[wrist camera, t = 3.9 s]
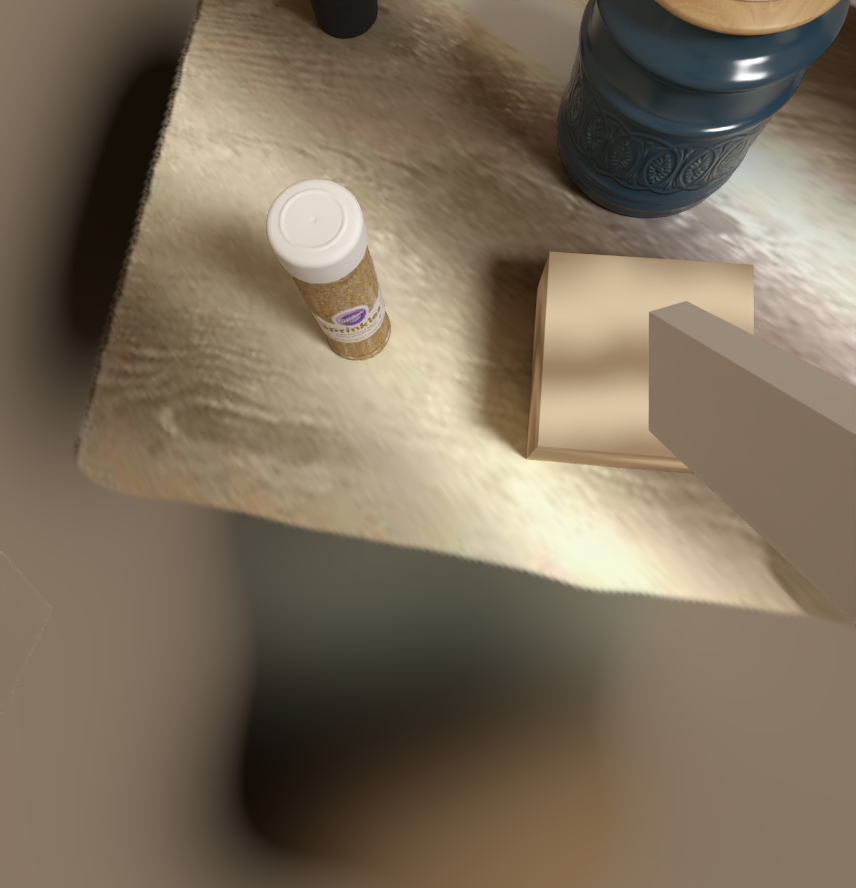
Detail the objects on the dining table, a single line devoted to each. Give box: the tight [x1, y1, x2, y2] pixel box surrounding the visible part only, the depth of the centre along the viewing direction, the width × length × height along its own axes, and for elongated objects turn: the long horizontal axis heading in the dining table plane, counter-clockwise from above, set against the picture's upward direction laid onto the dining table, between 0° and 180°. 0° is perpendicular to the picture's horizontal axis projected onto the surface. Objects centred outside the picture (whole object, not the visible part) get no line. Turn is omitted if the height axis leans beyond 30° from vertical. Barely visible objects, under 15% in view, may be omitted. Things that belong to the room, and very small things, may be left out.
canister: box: [558, 0, 850, 218], centre depth 32 cm, size 13×13×18 cm
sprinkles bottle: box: [266, 179, 391, 360], centre depth 32 cm, size 5×5×14 cm
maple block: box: [526, 252, 754, 474], centre depth 35 cm, size 12×12×5 cm
